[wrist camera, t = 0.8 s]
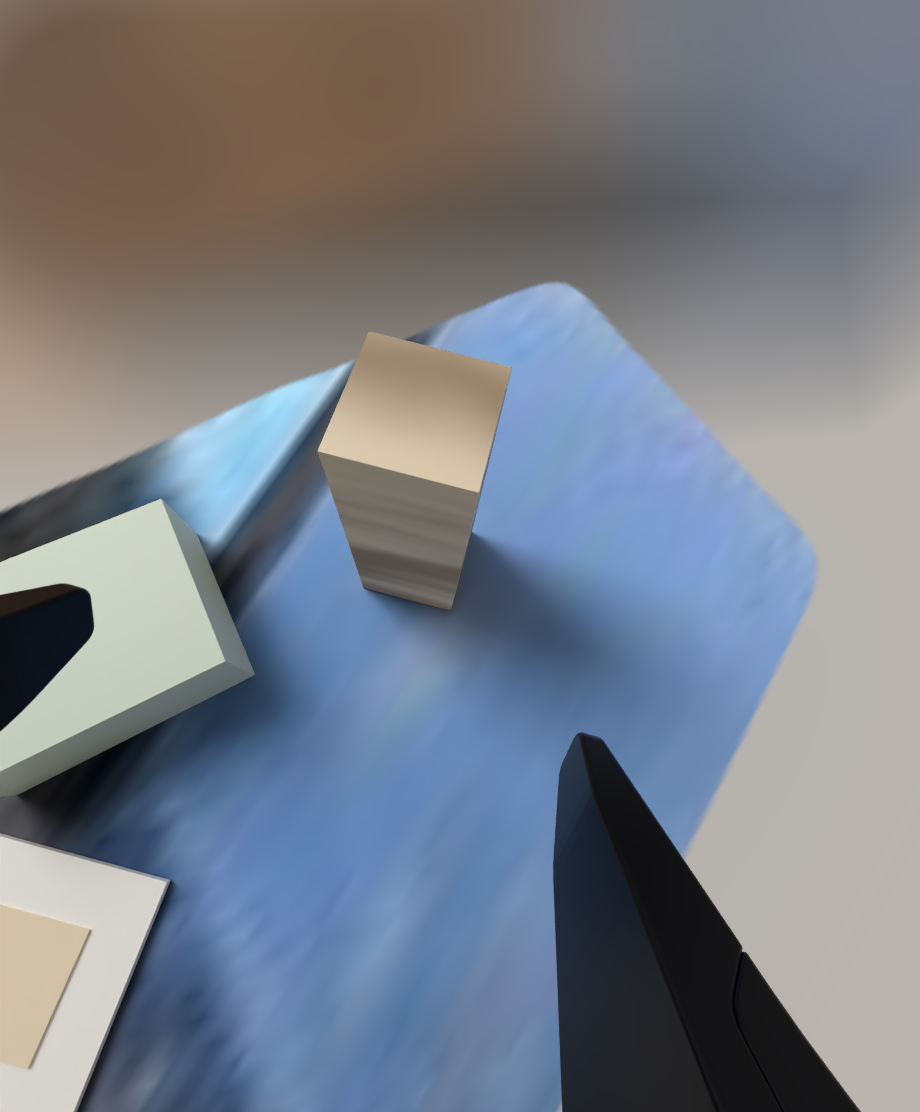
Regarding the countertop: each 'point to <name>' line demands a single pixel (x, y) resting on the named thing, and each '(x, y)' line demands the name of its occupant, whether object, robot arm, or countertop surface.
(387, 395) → the beech pillar
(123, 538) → the sage slab
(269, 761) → the countertop surface
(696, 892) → the robot arm
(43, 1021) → the card
